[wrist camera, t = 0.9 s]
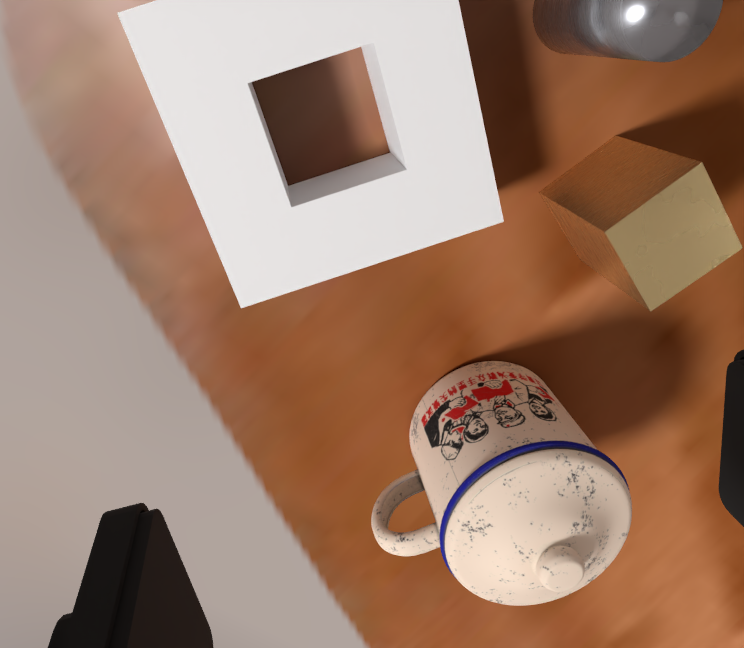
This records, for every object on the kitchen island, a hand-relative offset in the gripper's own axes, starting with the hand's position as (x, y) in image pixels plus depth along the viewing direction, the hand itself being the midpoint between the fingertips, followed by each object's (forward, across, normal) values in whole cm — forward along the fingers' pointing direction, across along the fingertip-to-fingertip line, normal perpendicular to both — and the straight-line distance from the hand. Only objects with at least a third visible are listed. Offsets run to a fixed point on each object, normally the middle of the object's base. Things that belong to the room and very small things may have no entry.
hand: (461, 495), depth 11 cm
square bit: (+22, -13, +4) cm, 26 cm away
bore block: (+22, -1, -3) cm, 23 cm away
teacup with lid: (+22, -5, +16) cm, 28 cm away
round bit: (+22, -12, -5) cm, 26 cm away
